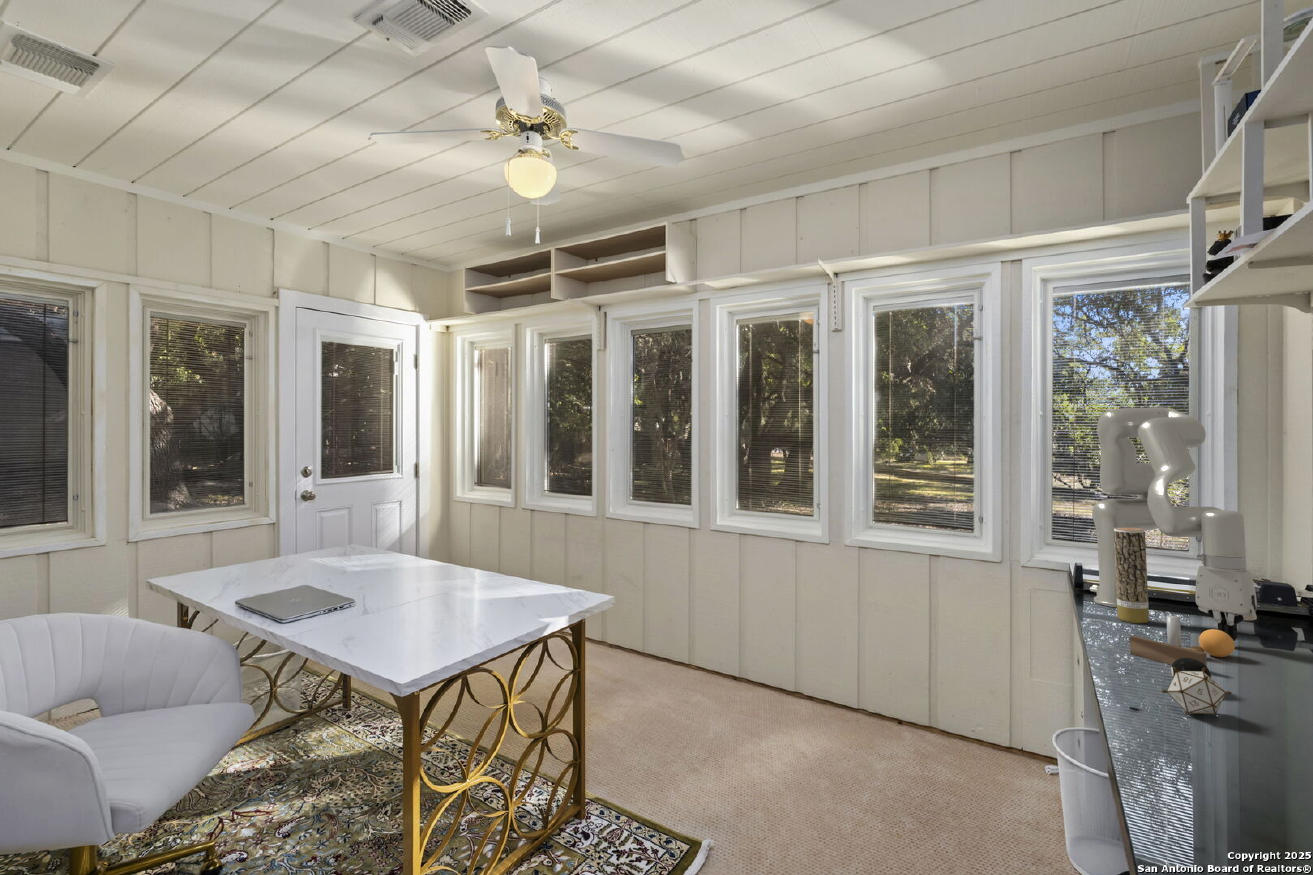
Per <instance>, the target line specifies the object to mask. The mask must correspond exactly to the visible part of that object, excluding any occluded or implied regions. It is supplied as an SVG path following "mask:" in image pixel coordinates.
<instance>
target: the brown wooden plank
mask: <svg viewBox="0 0 1313 875" xmlns="http://www.w3.org/2000/svg"><path fill="white" fill-rule="evenodd" d="M1187 648H1188V647H1187ZM1187 648H1186V647H1183V646H1181V647H1179V646H1175V645H1170V644H1168V643H1166V642H1163V641H1158V640H1153V639H1148V638H1144V637H1141V636H1137V635H1131V636H1129V654H1130V655H1134V656H1137V657H1141V658H1145V659H1148V660H1152V661H1156V662H1160V663H1162V664H1165V665H1166V664H1167V665H1170V666H1172V664H1173V662H1174V661H1175V660H1177V659H1180V658H1193V659H1196V660H1198V661H1200V662H1202V663H1204V664H1205V665H1206V666H1207V667H1208V662H1207V660H1208V659H1207V653H1206V652H1205V653H1203V652H1199V651H1195V650H1191V649H1187Z"/></svg>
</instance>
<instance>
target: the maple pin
mask: <svg viewBox="0 0 1313 875" xmlns="http://www.w3.org/2000/svg"><path fill="white" fill-rule="evenodd" d="M1187 649H1191V650H1195V651H1199V652H1203V653H1206V652H1205V651H1204V650H1203V649H1202V648H1201V646H1200V645H1194V646H1190V647H1187Z"/></svg>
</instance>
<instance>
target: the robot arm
mask: <svg viewBox="0 0 1313 875" xmlns="http://www.w3.org/2000/svg"><path fill="white" fill-rule="evenodd" d="M1096 431H1097V437H1098V440H1099V446H1100V461H1099V462H1100V466H1099V467H1100V468H1099V485H1100V488H1101V490H1102V491H1103V492H1104V493H1105V494H1108V495H1112V496H1114V495H1115V496H1129V495H1130V496H1137V498H1106V499H1103V500H1099V501H1098V502H1096V503H1095V504H1094V505H1093V507H1092V512H1091V513H1092V518H1093V523H1094V527H1095V531H1096V532H1095V533H1096V541H1097V558H1098V579H1099V580H1098V581H1099V583H1098V584H1099V585H1098V584H1093V585H1092V586H1090V587H1089V591H1090V592H1094V593H1096V596H1094V597H1093V602H1094V603H1096V604H1098V605H1101V606H1105V607H1110V608H1116V609H1117V591H1116V567H1115V544H1114V528H1138V529H1144V531H1153V530H1157V529H1158V530H1159V531H1160V532H1161V533H1162V534H1163V535H1165V536H1168V537H1172V538H1180V537H1181V538H1196V537H1197V538H1201V542H1202V544H1201V546H1202V553H1201V554H1197V555H1196V560H1197V561H1201V562H1202V563H1201V565H1199V566H1198V569H1197V572H1196V573H1197V575H1196V580H1195V593H1194V594H1195V597H1194V598H1195V604H1196V605H1197V606H1198V610H1199V611H1201V612H1203V613H1206V614H1209V615H1210V616H1211V618H1213V619H1214V622H1215V623H1216V624H1217V630H1220V631H1223V632H1225V633H1227V634H1228V635H1229V636H1230V637H1231V638H1232V639H1233V641H1236V640H1237V638H1238V625H1239V624H1240V623H1242V622H1243V621H1255V620H1258V619H1257V618H1258V616H1257V613H1256V612H1257V611H1258V610H1257V609H1258V608H1257V607H1258V603H1257V594H1256V593H1257V592H1256V587H1255V583H1254V579H1253V576H1252V573H1251V570H1248V569H1247V556H1246V551H1247V550H1246V534H1245V531H1246V530H1245V518H1244V515H1243V514H1242V513H1241V512H1240V511H1236V510H1229V509H1227V510H1226V509H1221V508H1219V507H1214V506H1173V503H1172V501H1171V498H1170V497H1169V492H1168V489H1169V488H1168V487H1169V485H1170V484H1173V483H1175V482H1178V481H1180V480H1183V479H1185V478H1187V477H1189V476H1191V475H1192V474H1193V473H1194V472H1195V470H1196V464H1195V462H1194V460H1193V458H1192V456H1191V455H1190V452H1189V449H1193V448H1197V447H1200V446H1202V445H1203V443H1204V442H1205V441H1206V437H1207V436H1206V435H1207V432H1206V429H1205V427H1204V425H1203V424H1202V422H1200V421H1199V420H1198V419H1197V418H1196V417H1194V416H1192V415H1189V414H1187V413H1183V412H1181V411H1178V410H1175V409H1173V408H1169V407H1165V406H1164V407H1163V406H1160V407H1157V406H1156V407H1155V406H1154V407H1128V408H1127V407H1123V408H1122V407H1121V408H1113V409H1110V410H1107V411H1104V412H1103V413H1102V414H1101V415H1100V417H1099V418H1098V420H1097V425H1096ZM1130 438H1139V441H1140V443H1141V445H1142V448H1143V449H1144V452H1145V454H1146V457H1147V458H1148V461H1149V462H1137V449H1136V446H1135V444H1134V443H1133V441H1132V440H1131V439H1130Z"/></svg>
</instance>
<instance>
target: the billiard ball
mask: <svg viewBox="0 0 1313 875" xmlns="http://www.w3.org/2000/svg"><path fill="white" fill-rule="evenodd" d="M1170 666H1171V667H1170V674H1171V676H1172V678H1173V677H1174V675H1175V672H1176V671H1174V669H1173V667H1175V668H1176V669H1177V670H1178V671H1202V668H1204V667H1205V669H1206V670H1205V673H1206V674H1207V675H1208V676H1209V677H1210V678H1211V679H1212V673H1211V671H1210V669H1209V667H1208V665H1207V666H1206V665H1205V664H1204V663H1202V662H1200V661H1198V660H1196V659H1193V658H1180V659H1177V660H1175V661H1174V662H1173V664H1172V665H1170Z"/></svg>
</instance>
